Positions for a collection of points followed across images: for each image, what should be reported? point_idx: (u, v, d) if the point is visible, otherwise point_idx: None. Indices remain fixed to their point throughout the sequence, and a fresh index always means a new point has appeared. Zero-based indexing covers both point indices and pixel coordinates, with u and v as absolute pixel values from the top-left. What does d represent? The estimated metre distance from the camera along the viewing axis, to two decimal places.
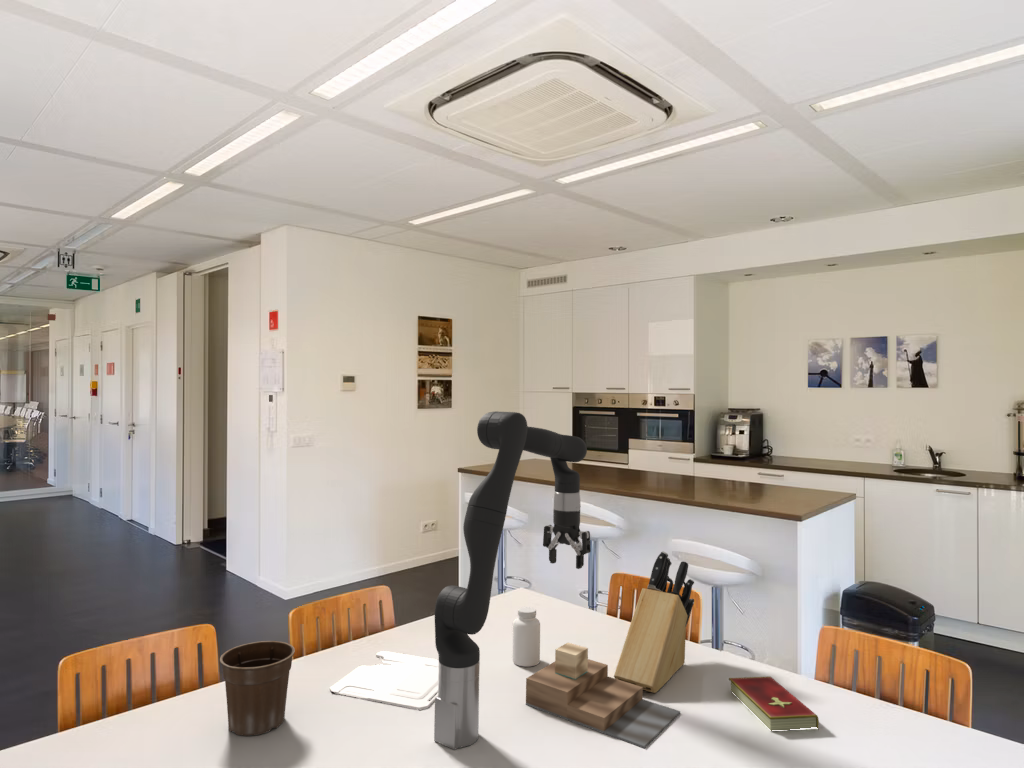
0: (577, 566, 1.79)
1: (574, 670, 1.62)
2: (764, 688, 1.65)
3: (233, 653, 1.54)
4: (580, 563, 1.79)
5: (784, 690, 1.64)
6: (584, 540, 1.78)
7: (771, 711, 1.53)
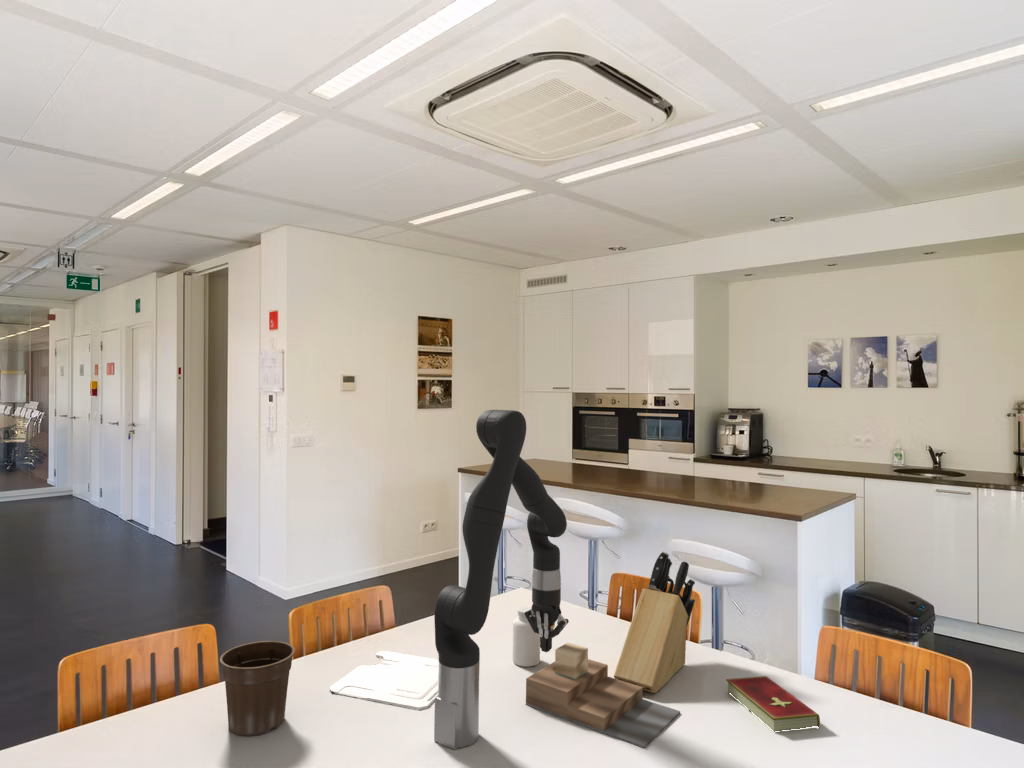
0: (545, 649, 1.70)
1: (574, 670, 1.62)
2: (763, 688, 1.65)
3: (233, 653, 1.54)
4: (548, 646, 1.69)
5: (782, 689, 1.64)
6: (558, 628, 1.67)
7: (773, 712, 1.52)
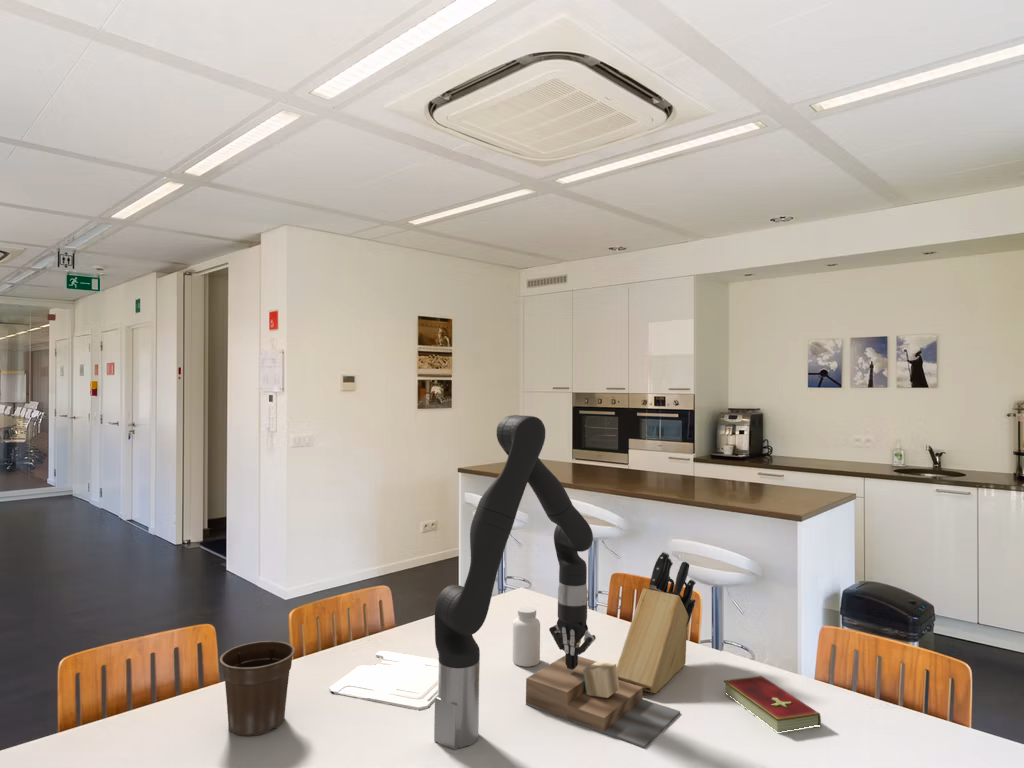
0: (571, 667, 1.65)
1: (593, 694, 1.58)
2: (761, 689, 1.65)
3: (233, 653, 1.54)
4: (574, 663, 1.65)
5: (779, 689, 1.65)
6: (585, 645, 1.62)
7: (776, 713, 1.52)
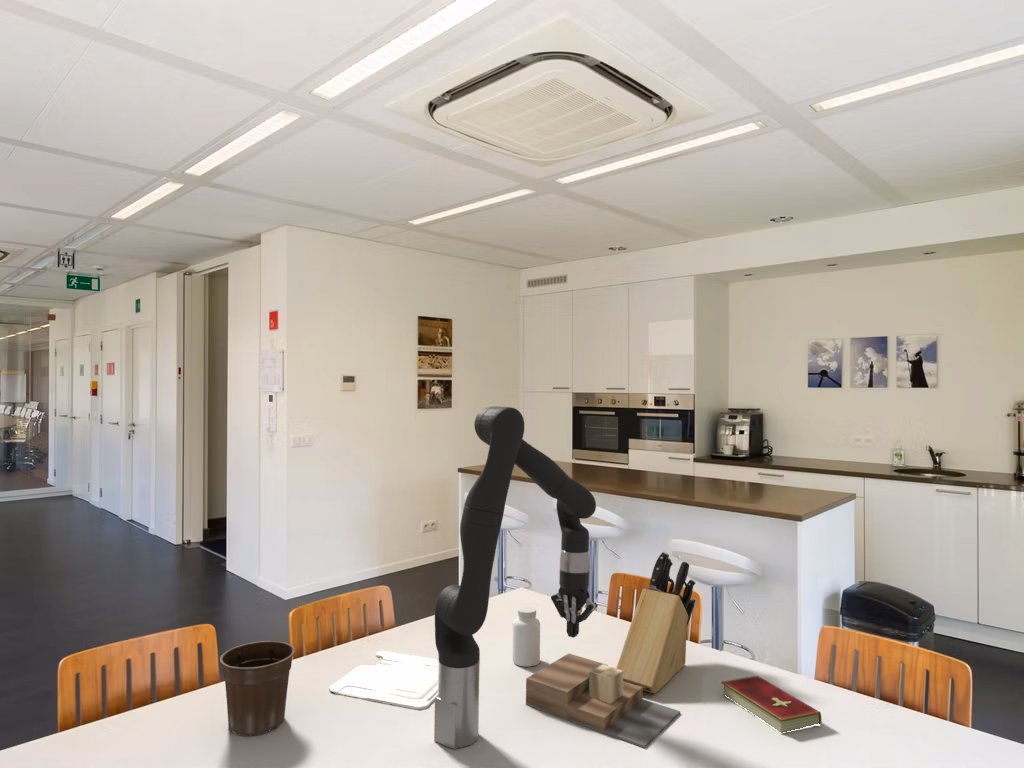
0: (572, 634, 1.64)
1: (596, 697, 1.58)
2: (759, 689, 1.64)
3: (233, 653, 1.54)
4: (575, 631, 1.64)
5: (777, 689, 1.65)
6: (587, 612, 1.62)
7: (779, 713, 1.52)
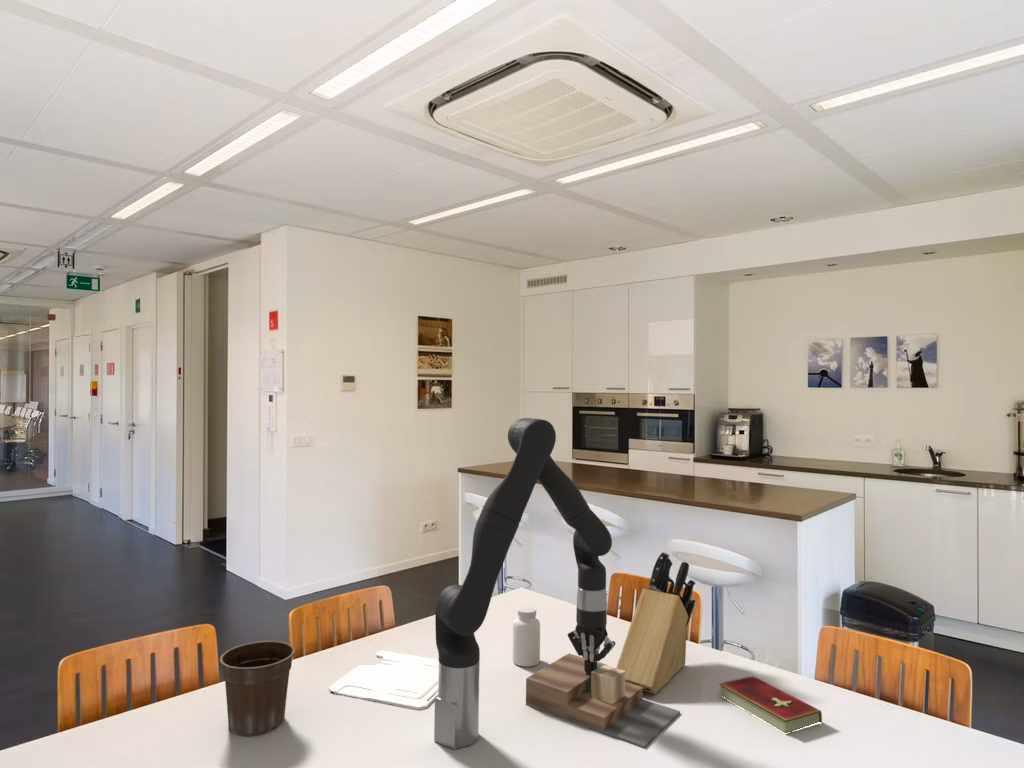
0: (590, 673, 1.61)
1: (598, 698, 1.58)
2: (757, 689, 1.64)
3: (233, 653, 1.54)
4: (593, 670, 1.61)
5: (774, 688, 1.65)
6: (605, 651, 1.59)
7: (782, 714, 1.52)
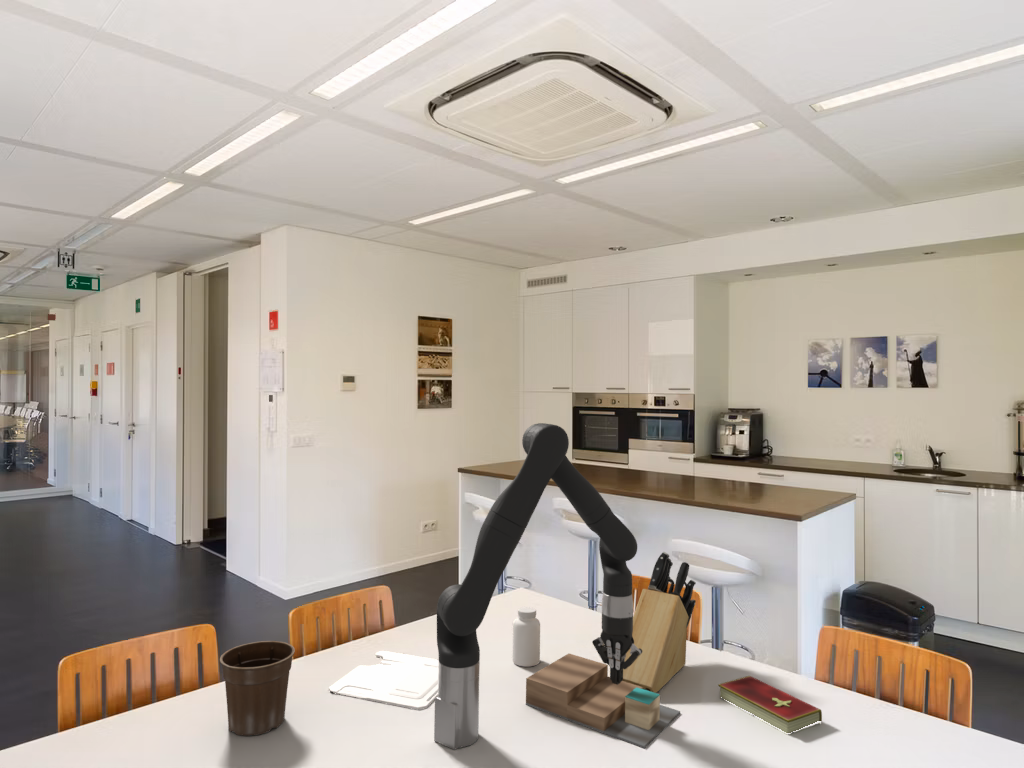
0: (616, 682, 1.57)
1: (626, 706, 1.53)
2: (756, 690, 1.64)
3: (233, 653, 1.54)
4: (619, 678, 1.57)
5: (773, 688, 1.65)
6: (632, 659, 1.54)
7: (783, 714, 1.52)
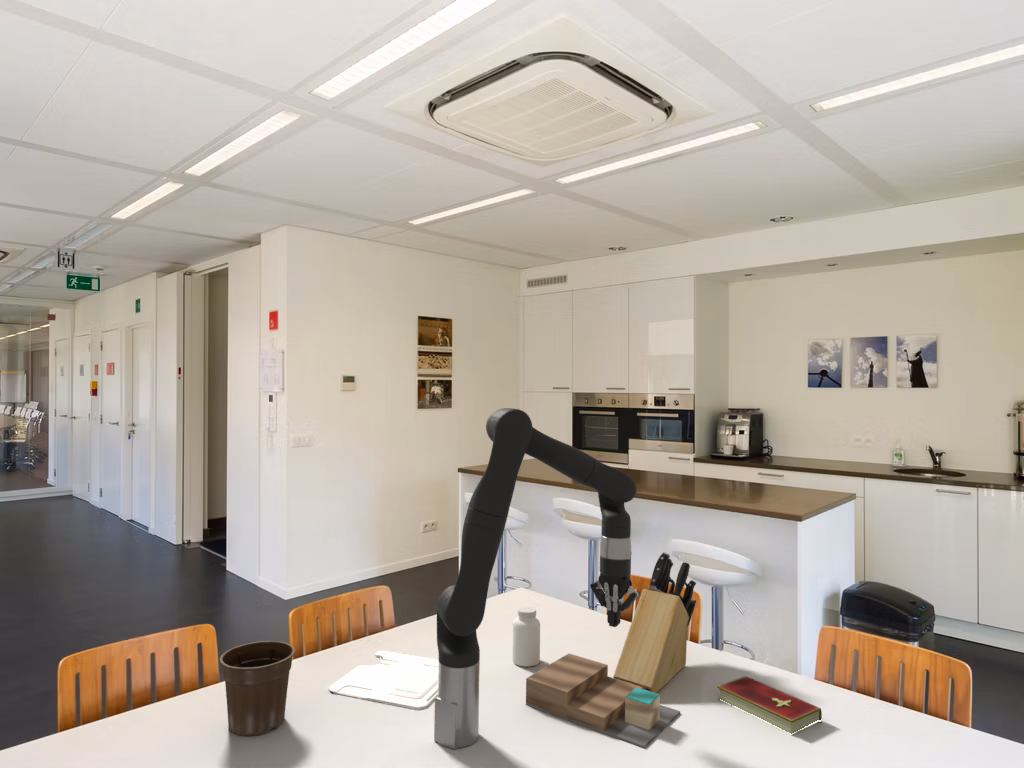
0: (613, 624, 1.57)
1: (626, 706, 1.53)
2: (755, 690, 1.64)
3: (233, 653, 1.54)
4: (616, 621, 1.57)
5: (771, 688, 1.65)
6: (629, 600, 1.54)
7: (786, 714, 1.52)
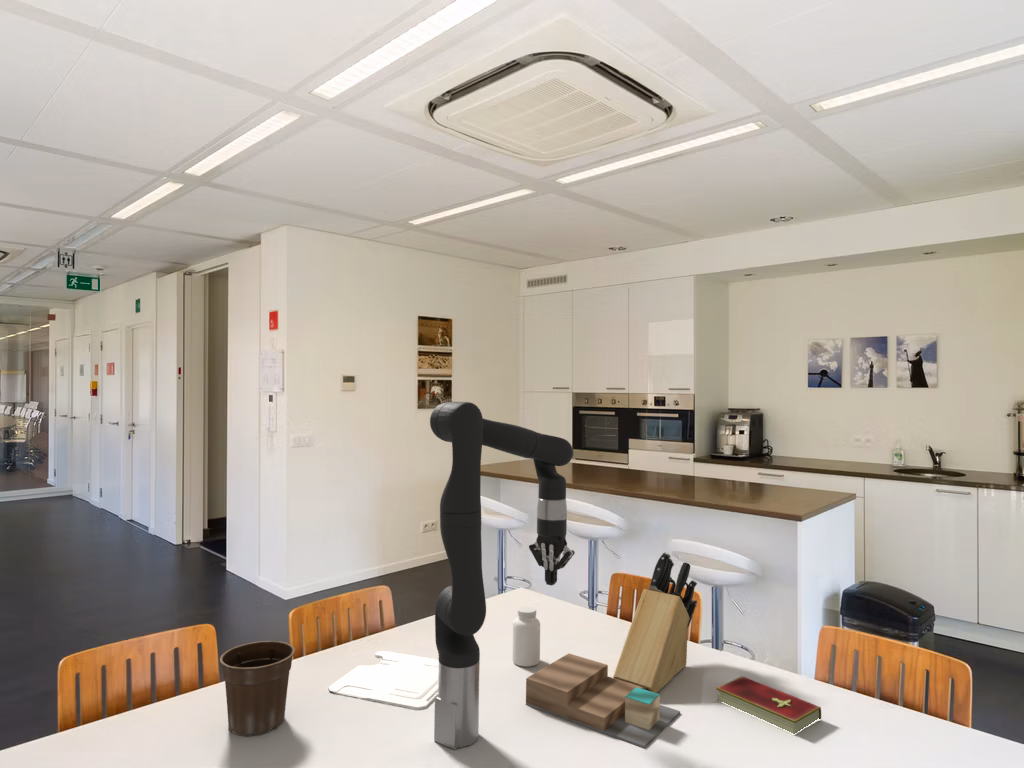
0: (550, 582, 1.64)
1: (626, 706, 1.53)
2: (754, 690, 1.64)
3: (233, 653, 1.54)
4: (553, 579, 1.64)
5: (769, 688, 1.65)
6: (564, 559, 1.61)
7: (788, 714, 1.52)
